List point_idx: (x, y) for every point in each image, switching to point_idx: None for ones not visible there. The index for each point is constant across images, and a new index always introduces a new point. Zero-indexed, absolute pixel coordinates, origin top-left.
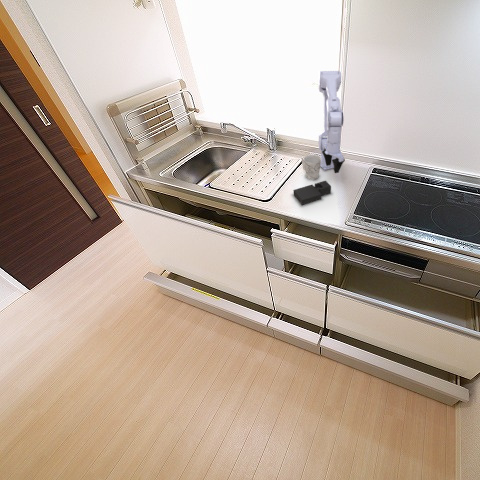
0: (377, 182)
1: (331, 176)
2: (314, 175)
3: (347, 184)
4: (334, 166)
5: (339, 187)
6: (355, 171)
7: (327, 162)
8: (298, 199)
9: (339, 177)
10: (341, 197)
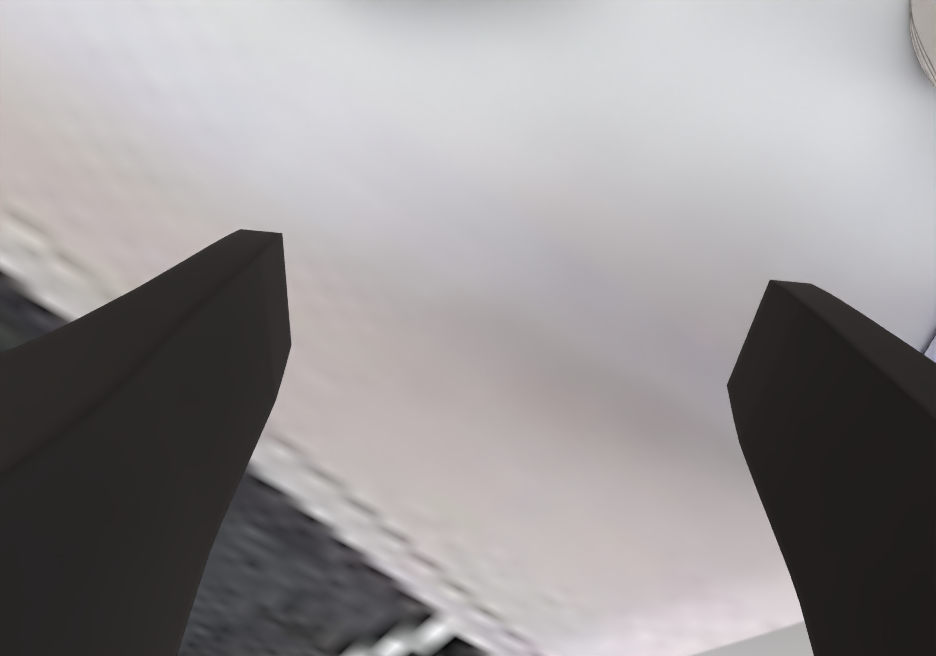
0: (266, 580)
1: (734, 274)
2: None
3: (398, 333)
4: (62, 357)
5: (390, 194)
6: (590, 552)
7: (810, 370)
8: None
9: (621, 350)
10: (100, 38)
